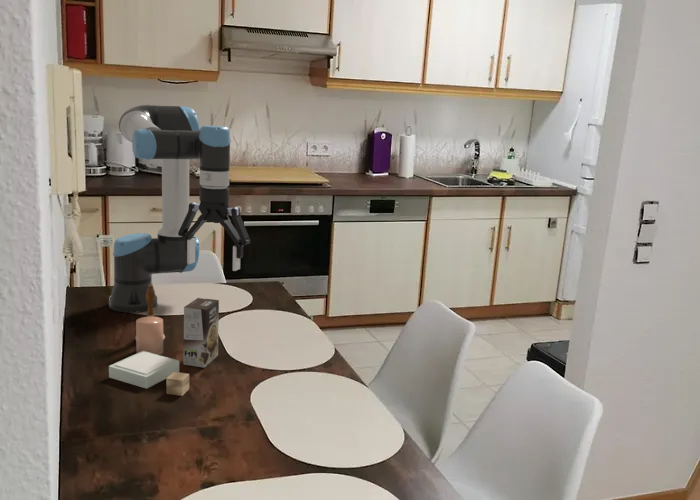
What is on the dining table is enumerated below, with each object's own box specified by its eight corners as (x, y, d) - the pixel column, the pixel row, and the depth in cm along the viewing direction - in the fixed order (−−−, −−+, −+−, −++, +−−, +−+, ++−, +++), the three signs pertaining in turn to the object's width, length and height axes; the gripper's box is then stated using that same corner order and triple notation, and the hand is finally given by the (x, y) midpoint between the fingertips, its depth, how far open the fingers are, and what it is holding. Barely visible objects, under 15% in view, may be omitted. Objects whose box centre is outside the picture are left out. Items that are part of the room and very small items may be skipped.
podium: (109, 377, 166) (108, 365, 165) (143, 361, 176) (142, 349, 175) (146, 388, 161) (146, 376, 160) (179, 371, 171) (179, 359, 171)
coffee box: (205, 368, 174) (206, 309, 171) (182, 365, 175) (182, 306, 172) (219, 355, 183) (220, 299, 179) (197, 352, 184) (197, 296, 180)
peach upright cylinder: (130, 353, 181) (130, 321, 179) (148, 345, 187) (148, 314, 185) (151, 358, 178) (150, 327, 176) (168, 350, 184) (168, 319, 182)
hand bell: (169, 334, 196) (169, 282, 193) (158, 344, 188) (158, 290, 185) (142, 331, 197) (141, 279, 193) (130, 341, 189) (129, 287, 185)
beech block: (166, 393, 159) (166, 378, 158) (173, 386, 163) (173, 371, 162) (182, 396, 158) (182, 380, 157) (189, 389, 162) (189, 373, 161)
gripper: (164, 183, 172) (164, 263, 177) (250, 193, 165) (249, 276, 169) (180, 180, 179) (180, 257, 184) (264, 189, 172) (262, 269, 176)
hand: (213, 266), depth 177 cm, fingers open, 13 cm apart
